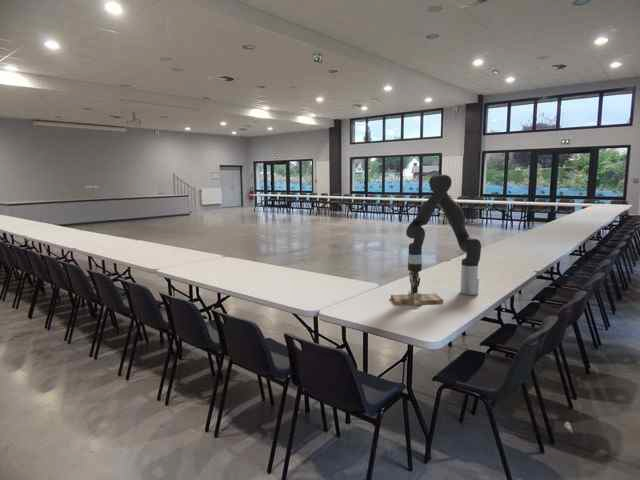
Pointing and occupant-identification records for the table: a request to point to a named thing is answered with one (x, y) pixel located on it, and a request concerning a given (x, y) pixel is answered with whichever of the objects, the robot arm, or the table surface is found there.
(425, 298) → the board
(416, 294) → the cream flanged bar
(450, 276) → the table surface
